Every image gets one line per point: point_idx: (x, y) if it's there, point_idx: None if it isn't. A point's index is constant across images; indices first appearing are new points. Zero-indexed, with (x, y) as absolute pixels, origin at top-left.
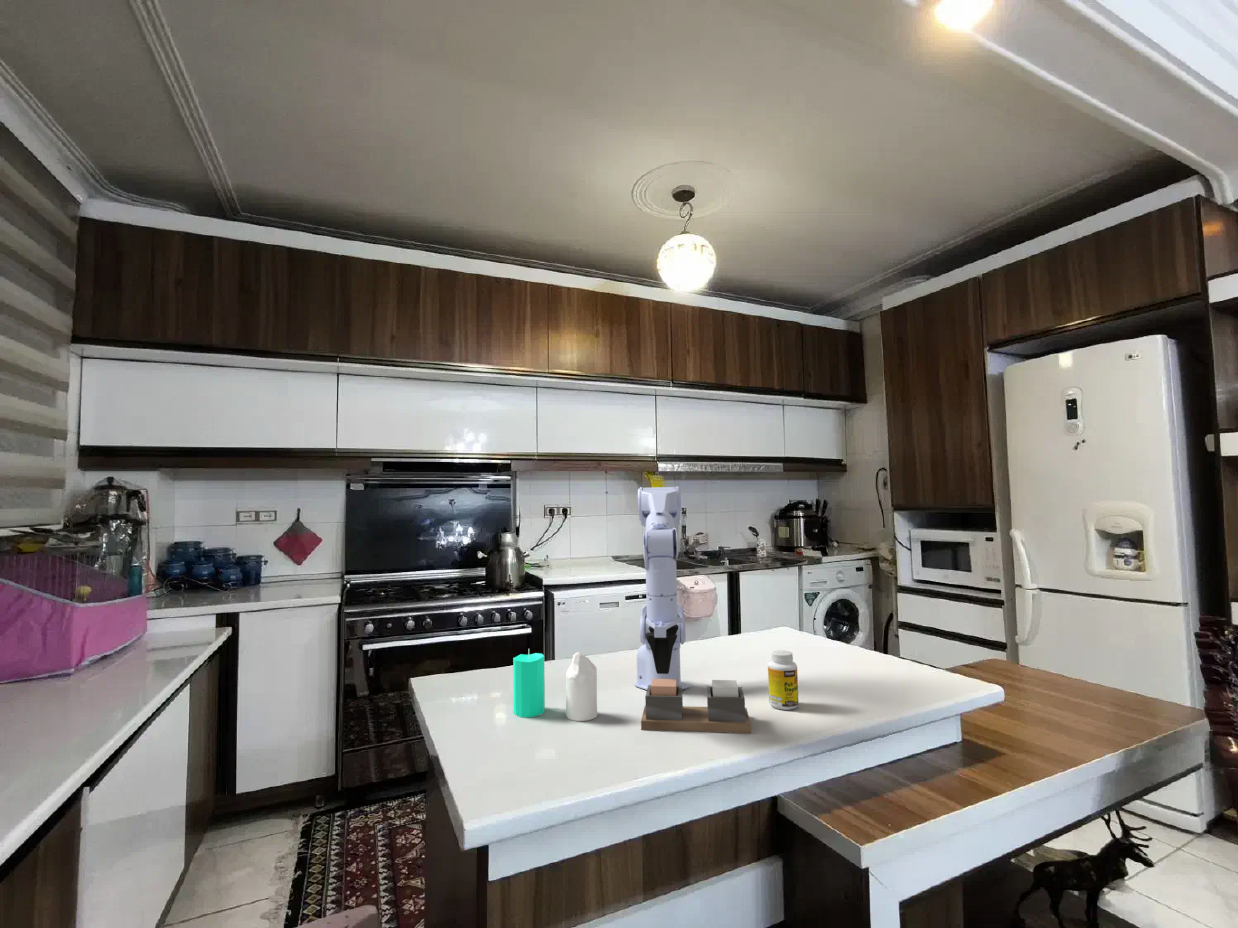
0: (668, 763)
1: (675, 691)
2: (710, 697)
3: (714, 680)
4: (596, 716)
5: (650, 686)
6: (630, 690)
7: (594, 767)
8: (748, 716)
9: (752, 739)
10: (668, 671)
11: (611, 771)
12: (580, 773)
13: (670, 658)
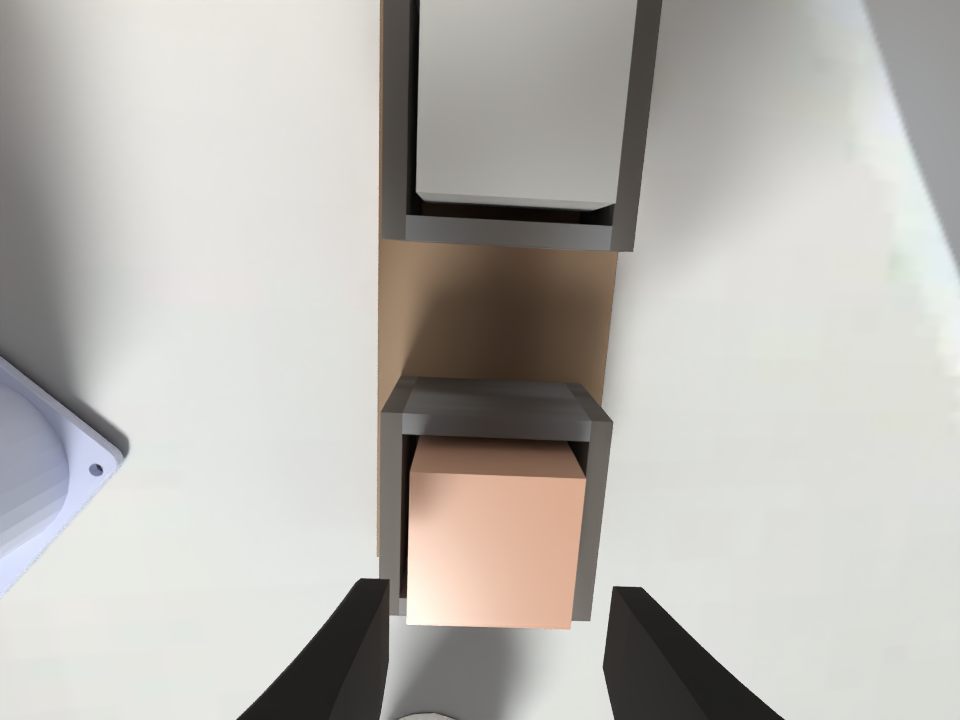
0: (904, 431)
1: (579, 465)
2: (626, 231)
3: (431, 172)
4: (438, 714)
5: (404, 601)
6: (63, 613)
7: (895, 664)
8: None
9: (707, 38)
10: (651, 598)
11: (934, 612)
12: (931, 696)
13: (741, 684)
